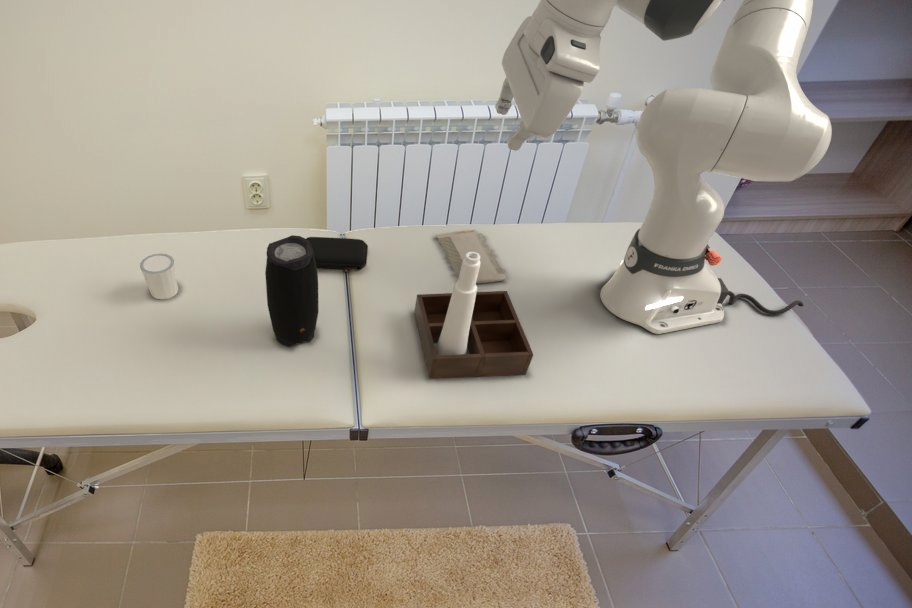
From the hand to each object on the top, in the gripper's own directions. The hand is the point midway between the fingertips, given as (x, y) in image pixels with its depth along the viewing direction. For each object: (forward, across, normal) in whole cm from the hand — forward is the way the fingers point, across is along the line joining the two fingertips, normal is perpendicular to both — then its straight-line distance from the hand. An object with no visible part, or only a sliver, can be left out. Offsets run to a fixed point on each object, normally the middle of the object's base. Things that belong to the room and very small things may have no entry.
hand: (505, 128), depth 86 cm
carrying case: (+43, -13, -14) cm, 47 cm away
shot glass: (+52, -3, -48) cm, 71 cm away
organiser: (+34, +13, +9) cm, 37 cm away
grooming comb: (+35, -13, +15) cm, 40 cm away
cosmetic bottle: (+34, +18, +5) cm, 38 cm away
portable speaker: (+43, +10, -22) cm, 50 cm away
